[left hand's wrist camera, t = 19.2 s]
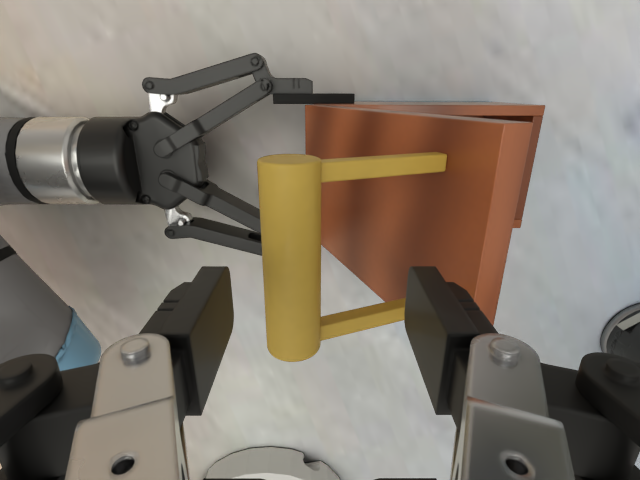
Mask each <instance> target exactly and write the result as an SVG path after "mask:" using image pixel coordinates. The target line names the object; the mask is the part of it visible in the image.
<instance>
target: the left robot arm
mask: <svg viewBox="0 0 640 480" xmlns="http://www.w3.org/2000/svg"><path fill="white" fill-rule="evenodd" d="M404 319H405V328H406V332H407V335H408V338H409V341H410V343H411V346H412V349H413V352H414V355H415V357H416V360H417V363H418V366H419V368H420V371H421V374H422V377H423V380H424V382H425V385H426V388H427V391H428V394H429V396H430V399H431V402H432V405H433V408H434V410H435V413H436V415H452V417H453V420H454V422H455V424H456V432H455V439H454V448H453V457H452V465H451V474H450V480H640V470H639V469H638V468H637V467H636V466H635V465H634V464H635V462H636V459H637V457H638V454H639V452H640V304H636V305H633V306H631V307H629V308H626V309H625V310H623V311H621V312H620V313H618V314H617V315H616V316H615V317H614V318H613V319H612V320H611V321H610V322H609V323H608V324H607V326H606V327H605V329H604V331H603V334H602V337H601V348H602V351H603V353H599V352H597V353H590V354H587V355H585V356H584V357H583V358H582V360H581V363H580V367H579V370H578V371H577V370H572V369H568V368H563V367H558V366H553V365H548V364H543V363H540V359H539V356H538V355H537V353H536V352H535V351H534V350H533V349H532V348H531V347H530V346H529V345H527V344H526V343H524V342H522V341H520V340H518V339H516V338H513V337H510V336H507V335H503V334H498V332H497V331H496V329H495V328H494V327H493V325H492V324H491V323H490V321H489V320H488V319H487V317H486V316H485V315H484V313H483V312H482V310H480V308H479V306H478V305H477V304H476V302H474V300H473V298H472V297H471V296H470V294H469V293H468V291H467V290H465V289H464V288H462V287H461V286H459V285H458V284H456V283H454V282H446V281H445V280H444V278H443V277H442V275H441V274H440V272H439V271H438V269H437V268H436V267H435V266H411V267H410V268H409V271H408V279H407V290H406V301H405V312H404ZM233 321H234V311H233V300H232V290H231V279H230V271H229V268H228V267H202V268H201V269H200V271H199V272H198V274H197V275H196V277H195V278H194V280H193V281H192V282H184V283H182V284H181V285H179V286H178V287H176V288H175V289H173V290H171V291H170V293H169V294H168V295H167V297H166V298H165V299H164V303H161V305H160V306H159V307H158V310H157V311H156V312H155V313H154V314H153V316H152V317H151V318H150V320H149V321H148V322H147V324H146V325H145V326H144V328H143V329H142V330H141V332H140V333H139V334H137V335H133V336H130V337H127V338H124V339H122V340H120V341H118V342H116V343H114V344H113V345H111V346H110V347H109V348H108V349H107V350H106V351H105V352H104V353H103V355H102V356H101V359H100V362H99V363H96V364H92V365H88V366H83V367H78V368H73V369H68V370H63V371H60V369H59V366H58V363H57V360H56V358H54V357H53V356H51V355H48V354H30V355H24V356H20V357H17V358H14V359H11V360H8V361H6V362H4V363H1V364H0V463H1V466H2V469H1V470H0V480H190V474H189V465H188V457H187V448H186V439H185V432H184V426H183V421H184V418H185V416H201V415H202V412H203V409H204V407H205V404H206V401H207V398H208V396H209V393H210V390H211V387H212V385H213V382H214V379H215V376H216V374H217V371H218V368H219V366H220V363H221V360H222V357H223V355H224V352H225V349H226V346H227V344H228V341H229V338H230V336H231V333H232V329H233ZM204 480H265V479H261V478H204ZM375 480H436V478H379V479H375Z"/></svg>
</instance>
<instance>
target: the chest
mask: <svg viewBox="0 0 640 480" xmlns="http://www.w3.org/2000/svg"><path fill="white" fill-rule="evenodd" d="M314 105H331V106H343V107H355V108H367V109H379V110H391V111H403V112H414V113H426V114H438V115H450V116H462V117H474V118H486V119H497V120H509V121H521V122H532V123H533V126H532V131H531V136H530V141H529V147H528V152H527V157H526V162H525V167H524V172H523V177H522V182H521V187H520V192H519V197H518V202H517V207H516V213H515V218H514V223H513V228H520V227H521V222H522V220H521V219H522V216H523V211H524V206H525V201H526V196H527V191H528V187H529V182H530V177H531V172H532V167H533V162H534V157H535V152H536V147H537V143H538V138H539V133H540V128H541V123H542V118H543V114H544V109H545V105H532V104H516V103H500V102H449V101H354V104H321V103H314Z"/></svg>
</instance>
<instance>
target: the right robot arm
mask: <svg viewBox="0 0 640 480" xmlns="http://www.w3.org/2000/svg"><path fill="white" fill-rule="evenodd" d="M251 74H253V76H254V79H255V81H256V82H255V83H254V84H252V85H250V86H249V87H247V88H246V89H244V90H242V91H241V92H239V93H238V94H236V95H234V96H233V97H231V98H230V99H228V100H227V101H225V102H223V103H222V104H220V105H219V106H217V107H215V108H214V109H212V110H211V111H209V112H207V113H206V114H204V115H203V116H201V117H199V118H198V119H196V120H194V121H192V122H190V123H189V124H187V125H186V126H185V125H184V124H182V123H181V122H179V121H178V120H176V119H175V118H173V117H172V116H171V115H169V114H168V113H166V108H167V107H168V106H169V105H172V104H175V103H176V102H177V99H178V95H182V94H188V93H192V92H196V91H199V90H202V89H205V88H209V87H212V86H215V85H218V84H222V83H225V82H228V81H231V80H234V79H238V78H241V77H244V76H247V75H251ZM142 86H143V89H144V90H145V91H146V92H147V93H149V105H150V112H149V113H147V114H146V115H144V116H142V117H94V118H91V119H89V118H86V117H29V118H6V117H0V206H1V205H8V204H98V203H102V204H152V205H156V206H158V207H160V208H162V209H165V214H166V218H167V222H168V227H167V228H166V229H165V235H166V236H167V237H168V238H170V239H177V238H194V239H198V240H202V241H206V242H210V243H214V244H218V245H222V246H226V247H230V248H234V249H238V250H242V251H246V252H250V253H253V254H257V255H261V256H262V242H261V223H260V209H258V208H256V207H254V206H252V205H250V204H248V203H246V202H244V201H243V200H241V199H239V198H237V197H235V196H233V195H231V194H229V193H227V192H225V191H224V190H222V189H220V188H218V186H217V185H216V184H214V183H212V182H210V181H208V180H206V178H207V177H208V169H207V166H206V163H205V160H204V158H205V152H206V150H205V142H202V139H201V137H202V136H204V135H205V134H207V133H209V132H210V131H212V130H213V129H215V128H216V127H218V126H219V125H221V124H223V123H224V122H226V121H228V120H229V119H231V118H232V117H234V116H236V115H237V114H239V113H240V112H242V111H244V110H245V109H247V108H249V107H250V106H252V105H253V104H255V103H257V102H258V101H260V100H262V99H263V98H265V97H266V96H268V95H270V94H273V103H274V104H314V103H321V104H354V94H313V81H311V80H309V79H306V78H274V77H273V76H272V75H271V74H270V72H269V69H268V66H267V64H266V60H265V58H263V57H262V56H261V55H259V54H257V53H252V54H249V55H246V56H242V57H239V58H236V59H233V60H230V61H226V62H223V63H220V64H217V65H214V66H211V67H207V68H204V69H201V70H198V71H195V72H191V73H188V74H185V75H182V76H179V77H175V78H172V79H164V78H152V77H148V78H145V79H144V80H143V82H142ZM187 198H188V199H190V200H192V201H194V202H195V203H197V204H200V205H202V206H208V207H210V208H212V209H214V210H216V211H218V212H220V213H222V214H224V215H225V216H227V217H229V218H231V219H233V220H235V221H237V222H239V223H241V224H243V225H245V226H247V227H249V228H251V229H253V230H255V231H257V232H254V231H250V230H247V229H243V228H239V227H235V226H231V225H227V224H223V223H220V222H216V221H212V220H208V219H204V218H197V217H192V215H191V214H190V213H188V212H184V211H182V210H181V209H180V208H179V206H178V205H179V204H181V203H182V202H183V201H185V200H186V199H187ZM258 232H259V233H258ZM30 354H48V355H51V356H53V357H54V358H56V360H57V363H58V366H59V369H60V371H63V370H68V369H73V368H78V367H83V366H88V365H92V364H96V363H98V361H99V358H100V355H101V346H100V343H99V342H98V340H97V339H96V338H95V337H94V336H93V334H92V333H91V332H90V331H89V329H88V328H87V327H86V326H85V324H84V323H83V322H82V321H81V319H80V318H79V317H78V316H77V313H76V312H75V310H74V309H73V308H72V307H70V306H68V305H67V304H66V303H65V302H64V301H63V300H62V299H61V298H60V297H59V296H58V295H57V294H56V293H55V292H54V291H53V290H52V289H51V288H50V287H49V286H48V285H47V284H46V283H45V282H44V281H43V280H42V279H41V278H40V277H39V276H38V275H37V274H36V273H35V272H34V271H33V270H32V269H31V268H30V267H29V266H28V265H27V264H26V263H25V262H24V261H23V260H22V259H21V258H20V257H19V256H18V255H17V253H16V252H15V251H14V250H13V248H12V247H11V246H10V245H9V244H8V243H7V242H6V241H5V240H4V238H3V237H2V236H1V235H0V364H1V363H4V362H6V361H8V360H11V359H14V358H17V357H20V356H24V355H30Z"/></svg>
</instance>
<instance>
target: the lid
mask: <svg viewBox="0 0 640 480" xmlns="http://www.w3.org/2000/svg"><path fill="white" fill-rule="evenodd" d="M532 126H533V123H532V122H521V121H509V120H497V119H486V118H474V117H462V116H450V115H438V114H426V113H414V112H403V111H391V110H379V109H367V108H355V107H343V106H331V105H305V131H306V155H303V154H277V155H269V156H264V157H261V158H259V159H258V161H257V169H258V187H259V205H260V223H261V242H262V260H263V278H264V296H265V314H266V332H267V348H268V350H269V352H270V353H271V355H273V356H274V357H275V358H277V359H279V360H282V361H288V362H297V361H303V360H306V359H308V358H310V357H312V356H313V355H315V354H316V353H317V351H318V350H319V348H320V341H322V340H326V339H330V338H334V337H338V336H342V335H346V334H350V333H354V332H358V331H362V330H366V329H370V328H374V327H378V326H382V325H386V324H390V323H394V322H398V321H402V320H405V319H404V312H405V301H406V290H407V279H408V271H409V268H410V267H411V266H435V267H436V268H437V269H438V271H439V272H440V274H441V275H442V277H443V278H444V280H445V281H446V282H454V283H456V284H458V285H459V286H461V287H462V288H464V289H465V290H467V291H468V293H469V294H470V296H471V297H472V298H473V300H474V302H476V304H477V305H478V306H479V308H480V310H482V312H483V313H484V315H485V316H486V317H487V319H488V320H489V321H490V323H491V324H492V325H493V324H494V319H495V314H496V309H497V304H498V299H499V294H500V289H501V284H502V279H503V273H504V268H505V263H506V258H507V253H508V248H509V243H510V238H511V233H512V228H513V223H514V218H515V213H516V207H517V202H518V197H519V192H520V187H521V182H522V177H523V172H524V167H525V162H526V157H527V152H528V147H529V141H530V136H531V131H532ZM321 245H322V246H323V247H325V248H326V249H327V250H328V251H329V252H330V253H331V254H332V255H333V256H335V257H336V258H337V259H338V260H339V261H340V262H341V263H342V264H344V265H345V266H346V267H347V268H348V269H349V270H350V271H351V272H352V273H354V274H355V275H356V276H357V277H358V278H359V279H360V280H361V281H362V282H364V283H365V284H366V285H367V286H368V287H369V288H370V289H371V290H373V291H374V292H375V293H376V294H377V295H378V296H379V297H380V298H381V299H383V300H384V301H385V303H380V304H376V305H371V306H367V307H363V308H358V309H354V310H349V311H345V312H340V313H336V314H331V315H327V316H322V317H321Z"/></svg>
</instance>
